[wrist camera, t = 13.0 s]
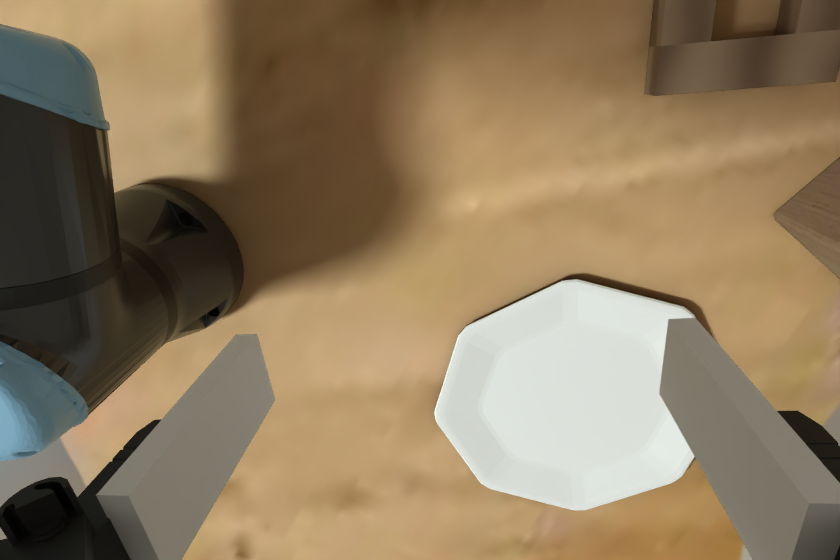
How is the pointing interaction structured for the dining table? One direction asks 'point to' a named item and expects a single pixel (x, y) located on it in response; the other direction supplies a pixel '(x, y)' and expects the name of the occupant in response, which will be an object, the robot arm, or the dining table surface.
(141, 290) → the robot arm
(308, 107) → the dining table surface
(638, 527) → the dining table surface
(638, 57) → the dining table surface
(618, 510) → the dining table surface
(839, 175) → the wooden block
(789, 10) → the socket block
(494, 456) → the plate
